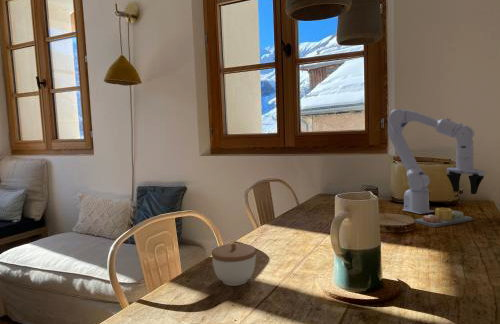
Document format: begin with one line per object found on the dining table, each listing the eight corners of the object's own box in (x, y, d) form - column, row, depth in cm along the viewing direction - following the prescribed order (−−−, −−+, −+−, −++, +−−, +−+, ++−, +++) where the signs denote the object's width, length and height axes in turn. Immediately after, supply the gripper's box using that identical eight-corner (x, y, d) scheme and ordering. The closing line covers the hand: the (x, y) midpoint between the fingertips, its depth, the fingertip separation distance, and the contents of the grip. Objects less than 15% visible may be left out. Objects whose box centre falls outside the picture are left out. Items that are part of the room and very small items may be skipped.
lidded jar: (233, 269, 99) (231, 234, 98) (265, 278, 92) (264, 241, 91) (204, 283, 91) (202, 245, 90) (237, 293, 84) (235, 253, 83)
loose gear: (431, 217, 140) (431, 208, 140) (442, 216, 142) (442, 207, 142) (444, 220, 135) (444, 211, 135) (455, 218, 137) (455, 209, 137)
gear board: (414, 222, 139) (414, 214, 139) (451, 215, 146) (451, 208, 146) (434, 227, 131) (434, 219, 130) (472, 220, 138) (472, 212, 138)
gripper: (441, 157, 148) (441, 191, 150) (475, 159, 135) (475, 196, 136) (453, 156, 151) (453, 189, 152) (488, 157, 138) (488, 194, 139)
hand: (464, 192), depth 144 cm, fingers open, 7 cm apart
